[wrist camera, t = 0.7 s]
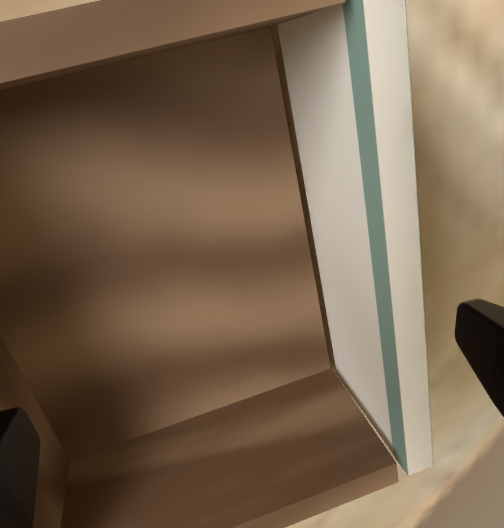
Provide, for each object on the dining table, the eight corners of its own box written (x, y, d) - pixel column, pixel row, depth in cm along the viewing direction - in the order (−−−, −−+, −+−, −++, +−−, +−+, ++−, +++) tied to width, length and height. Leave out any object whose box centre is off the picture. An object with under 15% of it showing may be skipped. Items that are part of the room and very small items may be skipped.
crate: (326, 374, 27) (398, 481, 20) (58, 470, 25) (31, 629, 18) (257, -4, 19) (339, -52, 11) (-160, 91, 16) (-382, 105, 9)
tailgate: (355, 367, 27) (433, 466, 20) (336, 373, 26) (407, 476, 20) (302, -3, 18) (402, -48, 12) (273, 3, 18) (358, -38, 11)
